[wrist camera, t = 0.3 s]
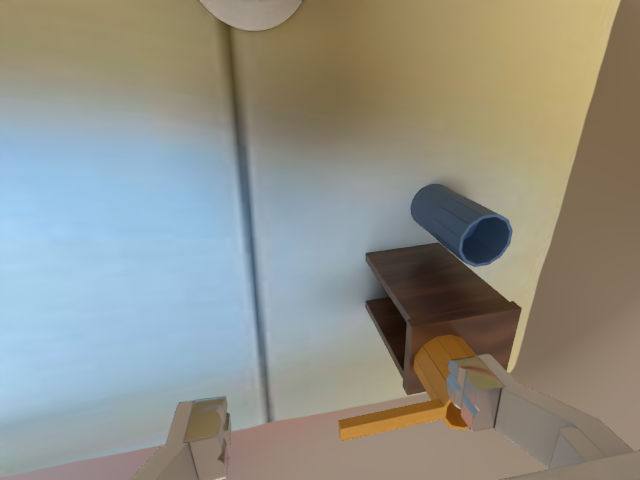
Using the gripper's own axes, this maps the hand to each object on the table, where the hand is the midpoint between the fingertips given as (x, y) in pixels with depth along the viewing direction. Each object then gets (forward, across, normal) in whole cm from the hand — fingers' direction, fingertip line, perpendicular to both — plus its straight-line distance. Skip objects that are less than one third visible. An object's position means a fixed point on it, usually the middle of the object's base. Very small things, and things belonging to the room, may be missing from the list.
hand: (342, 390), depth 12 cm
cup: (+21, -11, +20) cm, 31 cm away
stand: (+41, -19, +18) cm, 48 cm away
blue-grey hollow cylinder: (+40, -24, +6) cm, 47 cm away
